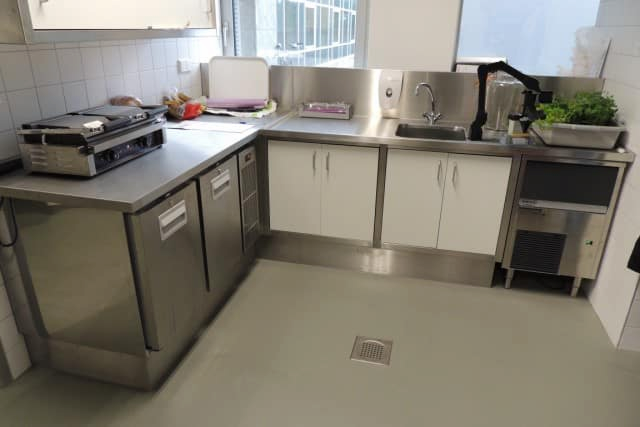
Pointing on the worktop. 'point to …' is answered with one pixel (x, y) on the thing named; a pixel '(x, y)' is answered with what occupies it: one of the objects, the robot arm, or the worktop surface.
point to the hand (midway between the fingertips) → (524, 133)
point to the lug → (530, 139)
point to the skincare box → (515, 127)
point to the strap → (517, 135)
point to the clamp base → (514, 141)
